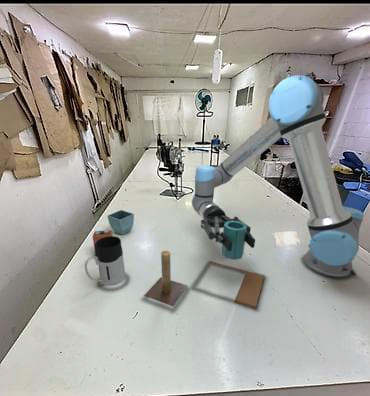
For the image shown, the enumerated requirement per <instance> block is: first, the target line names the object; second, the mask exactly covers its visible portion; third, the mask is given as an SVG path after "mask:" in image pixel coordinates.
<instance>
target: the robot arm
mask: <svg viewBox="0 0 370 396" xmlns="http://www.w3.org/2000/svg"><path fill="white" fill-rule="evenodd" d="M324 95H325V94H324V90H323V88H322V87H321V86H320V85H319V84H318V82H316V81H314V80H313V79H312V78H311V77H309V76H307V75H302V74H301V75H300V74H299V75H298V74H297V75H291V76H289V77H286V78H284V79H283V80H281V81H280V82H279V83H278V84H277V85H276V86H275V87H274V89H273V90H272V92H271V94H270V96H269V100H268V111H269V115H270V118H269V119H268V120H267V121H266V122H265V123H264V124H262V125H261V126H260V127H259V128H258V129H257V130H255V132H254V133H253V134H251V135H250V136H249V137H248V138H247V139H246V140H244V142H243V143H241V144H240V145H239V146H238V147H237V148H236V149H234V151H232V152H231V154H229V155H228V156H227V157H226V158H225V159H224V160H222V162H221V163H219V164H218V165H217V166H215V167H214V166H211V165H198V166H197V167H196V169H195V175H194V195H193V197H192V199H191V206H192V208H193V210H194V212H196V213H197V215H198V216H200V218H201V220H200V228H201V229H203V230H204V233H205V234H206V236H207V237H208V240H215V241H214V242H216V243H219V244H221V245H222V244H223V245H224V246H225V247H226V248H227V249H228V251H231V250H232V242H231V241H230V240H229V238H228V237H227V236H226V235H225V234H224V233H223V232H221V231H220V229H224V224H225V223H226V222H227V221H239V222H243V221H242V220H241V219H239V217H238V216H234V217H233V218H231V217H230V216H227V214H226V212H225V211H224V210H223V208H221V207H220V206H219V205H217V203H216V202H214V195H215V188H217V187H220V186H223V185H225V184H227V183H228V182H230V181H231V180H232V179H233V178H234V177H235V175H237V174H238V173H240V171H241V170H243V169H244V168H245V167H247V166H248V165H250V163H252V162H253V161H254V160H255V159H256V158H258V157H259V156H261V155H262V154H263V153H264V152H266V151H267V150H268V149H269V148H270V147H272V146H273V145H274V144H275V143H276V142H278V141H280V139H282V138H283V139H285V140H287V141H288V143H289V147H290V151H291V153H292V157H293V160H294V164H295V167H296V171H297V175H298V178H299V181H300V185H301V188H302V192H303V195H304V198H305V202H306V207H307V209H308V212H309V218H308V220H307V221H306V225H307V229H308V232H309V236H310V240H309V243H308V246H307V247H308V248H309V249H308V250H307V252H306V254H305V255H304V264H305V265H306V266H307V267H308V268H309V269H310V270H312V271H313V272H315V273H317V274H320V275H322V276H325V277H329V278H334V279H335V278H336V279H341V278H346V277H349V276H350V275H351V274H352V276H354V277H356V276H357V274H356V273H355V271H354V270H353V262H352V261H353V260H354V259H355V258H356V256H357V255H358V252H359V250H360V245H359V240H360V239H359V238H360V229H361V225H362V223H363V221H364V215H365V214H364V212H363V211H361V210H359V209H356V208H353V207H350V206H345V205H343V203H342V199H341V195H340V193H339V188H338V184H337V180H336V177H335V173H334V169H333V165H332V162H331V157H330V154H329V151H328V147H327V143H326V140H325V136H324V132H323V126H324V124H325V123H326V120H327V118H326V113H325V109H324V106H323V104H324V100H325V96H324ZM243 223H244V224H246V223H245V222H243ZM246 225H247V231H246V238H245V244H247V245H248V246H249V247H250V248H251V249H254V248H255V244H256V239H255V238H254V237H253V235H252V234H251V229H252V228H251V226H249V225H248V224H246Z"/></svg>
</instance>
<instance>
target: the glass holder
mask: <svg viewBox="0 0 370 396" xmlns="http://www.w3.org/2000/svg"><path fill="white" fill-rule="evenodd" d="M96 250H97V256H93V255H92V256H89V257H88V258H87V259H86V260H85V262H84V272H85V274H86V276H87V277H88V278H89V279H90V280H91V281H94V282H99V285H100V286H102V285H105V286H116V285H119V284H121V283H123V282H124V281H125V279H126V269H125V260H124V259H125V258H124V251H123V246H122V239H121V238H120V237H118V236H114V235H113V236H109V237H104V238H101V239H99V240H98V241H97V242H96ZM92 259H94V261H95V264H96V265H97V266H98V270H99V278H100V279H95V278H93V277H92V276H91V275H90V273H89V271H88V264H89V262H90V260H92Z"/></svg>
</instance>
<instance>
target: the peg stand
mask: <svg viewBox="0 0 370 396" xmlns="http://www.w3.org/2000/svg"><path fill="white" fill-rule="evenodd" d="M160 259H161V260H160V261H161V262H160V263H161V265H160V266H161V277H160V278H159V279H158V280H157V281H156V282H155V283H154V284H153V285H152V287H150V288H149V289H148V291H147V292H145V294H144V295H143V296H144V297H146V298H148V299H151V300H154V301H157V302H160V303H162V304H165V305H167V306H171V307H172V308H173V307H174V306H175V305H176V304H177V303H178V302H179V299H180V298H181V297H182V295H183V294H184V292H186V290H187V288H188V287H189V285H188V284H183V283H181V282H177V281H174V280H171V279H172V277H171V275H172V272H171V269H172V268H171V252H170V251H169V250H163V251H162V252H161V253H160Z"/></svg>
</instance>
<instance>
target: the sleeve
mask: <svg viewBox="0 0 370 396" xmlns="http://www.w3.org/2000/svg"><path fill="white" fill-rule="evenodd" d="M244 223H245V222H244V221H242V222H239V221H227V222H226V223H225V224H224V228H223V230H222V231H223V233H224V234H225V235H226V236H227V237H228V238H229V240H230V241H231V242H232V250H231V251H228V249H227V248H226V247H225V246H224V245H223V244H221V255H222V256H223V257H224V258H225V259H228V260H232V261H236V260H240V259H242V258H243V256H244V253H245V245H246V242H245V238H246V231H247V225H248V224H246V223H245V224H244Z"/></svg>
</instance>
